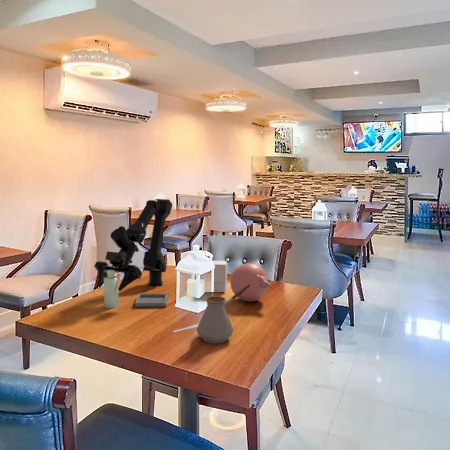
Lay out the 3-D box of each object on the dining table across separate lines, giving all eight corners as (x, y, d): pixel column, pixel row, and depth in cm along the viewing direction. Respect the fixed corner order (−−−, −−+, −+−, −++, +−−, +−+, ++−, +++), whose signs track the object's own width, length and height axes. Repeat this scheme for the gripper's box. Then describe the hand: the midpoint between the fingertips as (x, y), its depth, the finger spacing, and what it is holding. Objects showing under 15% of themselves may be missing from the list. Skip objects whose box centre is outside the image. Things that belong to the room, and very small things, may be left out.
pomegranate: (252, 313, 153) (253, 272, 151) (222, 298, 169) (223, 261, 167) (283, 306, 161) (285, 268, 159) (252, 292, 178) (253, 258, 176)
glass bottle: (105, 303, 160) (105, 268, 158) (119, 303, 160) (119, 268, 158) (103, 308, 154) (102, 272, 152) (117, 308, 155) (116, 272, 153)
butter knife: (204, 325, 139) (199, 323, 142) (139, 342, 125) (135, 339, 127) (204, 327, 139) (199, 324, 142) (139, 344, 125) (135, 340, 127)
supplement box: (226, 288, 184) (227, 260, 182) (225, 293, 176) (226, 264, 174) (210, 287, 184) (211, 260, 182) (208, 292, 177) (208, 263, 175)
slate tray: (139, 297, 168) (139, 293, 167) (167, 297, 168) (167, 293, 168) (135, 307, 156) (135, 302, 156) (165, 307, 157) (165, 302, 157)
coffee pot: (212, 349, 122) (213, 300, 119) (189, 337, 130) (189, 291, 128) (262, 331, 136) (263, 287, 134) (238, 321, 144) (239, 280, 142)
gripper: (96, 240, 161) (78, 274, 152) (137, 245, 154) (120, 280, 146) (109, 256, 169) (92, 289, 160) (148, 261, 163) (133, 296, 154)
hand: (108, 288), depth 155 cm, fingers open, 9 cm apart
